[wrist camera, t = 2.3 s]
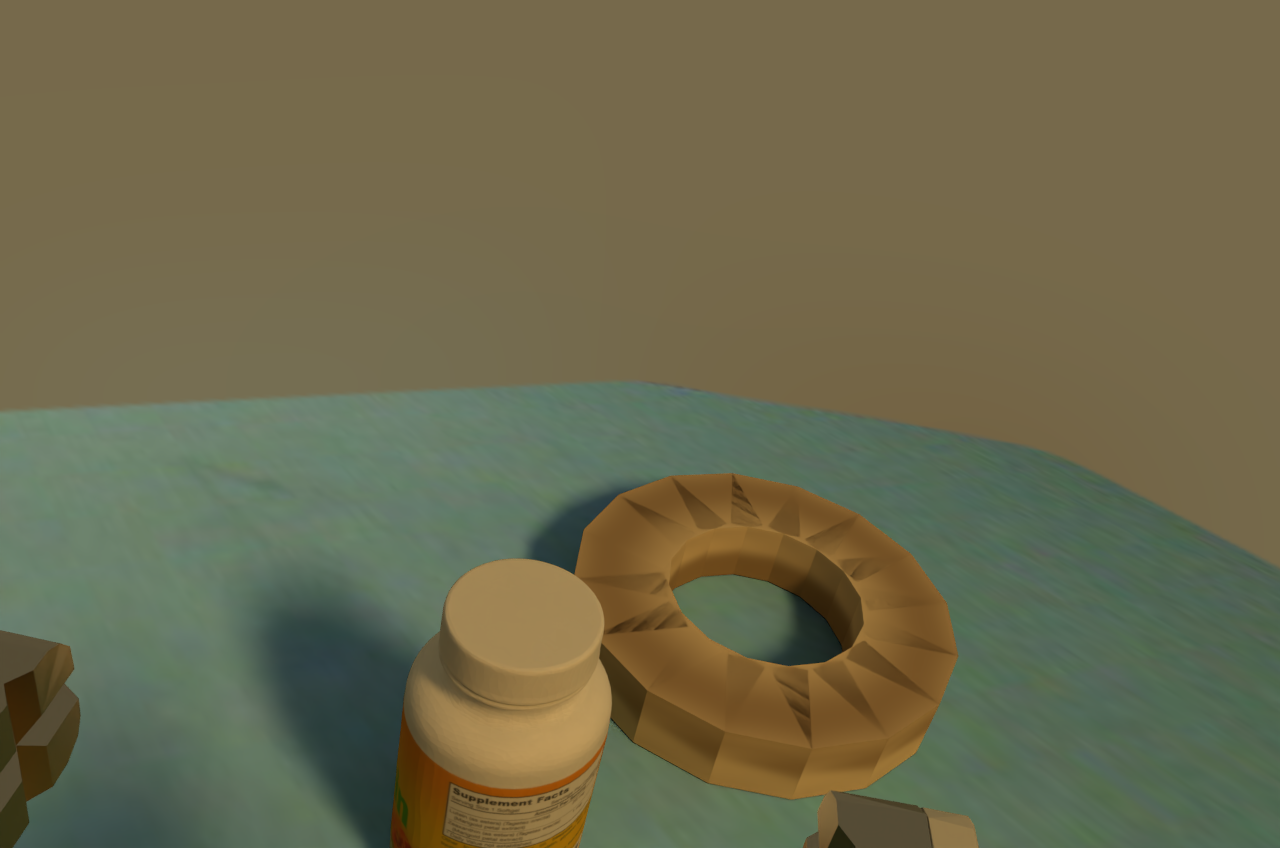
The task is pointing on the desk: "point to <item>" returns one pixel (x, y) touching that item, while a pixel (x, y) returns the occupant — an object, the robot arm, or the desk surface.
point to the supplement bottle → (504, 714)
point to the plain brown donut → (751, 689)
